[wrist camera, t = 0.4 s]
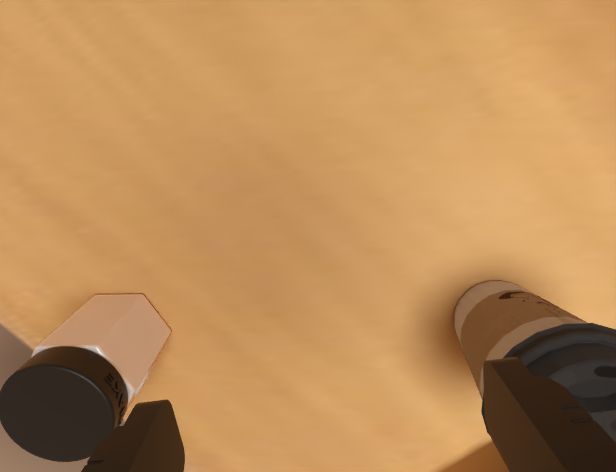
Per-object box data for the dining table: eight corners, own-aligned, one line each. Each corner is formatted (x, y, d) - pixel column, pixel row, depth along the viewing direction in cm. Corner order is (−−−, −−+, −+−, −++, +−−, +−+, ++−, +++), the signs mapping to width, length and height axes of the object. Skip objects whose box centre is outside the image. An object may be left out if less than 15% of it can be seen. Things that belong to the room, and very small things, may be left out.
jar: (146, 383, 43) (88, 484, 32) (69, 348, 42) (-21, 439, 30) (183, 312, 41) (135, 392, 29) (102, 273, 40) (19, 340, 28)
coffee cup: (566, 265, 40) (714, 355, 25) (532, 372, 43) (646, 505, 28) (445, 250, 39) (525, 333, 25) (420, 359, 42) (478, 488, 28)
